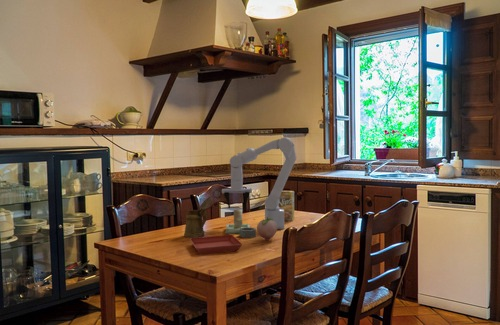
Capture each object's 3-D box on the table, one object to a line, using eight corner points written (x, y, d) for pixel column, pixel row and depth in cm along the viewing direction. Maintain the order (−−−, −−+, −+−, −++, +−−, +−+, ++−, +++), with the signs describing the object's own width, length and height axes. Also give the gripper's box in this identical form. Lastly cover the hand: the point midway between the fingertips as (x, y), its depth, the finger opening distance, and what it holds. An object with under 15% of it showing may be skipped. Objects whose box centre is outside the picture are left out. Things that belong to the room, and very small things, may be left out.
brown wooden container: (205, 239, 196) (204, 198, 195) (180, 236, 202) (179, 196, 201) (216, 235, 203) (215, 195, 202) (192, 233, 210) (191, 194, 209)
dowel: (243, 228, 214) (243, 209, 214) (240, 230, 211) (240, 210, 210) (236, 228, 216) (235, 209, 216) (232, 229, 212) (232, 210, 212)
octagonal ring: (255, 233, 206) (255, 227, 206) (256, 237, 199) (256, 230, 199) (239, 234, 206) (239, 227, 206) (239, 237, 199) (239, 230, 199)
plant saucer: (196, 256, 170) (196, 247, 170) (189, 245, 187) (189, 237, 187) (243, 252, 175) (242, 243, 175) (232, 242, 192) (231, 234, 192)
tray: (249, 228, 220) (249, 223, 219) (249, 233, 208) (249, 229, 207) (226, 228, 219) (226, 224, 219) (225, 233, 207) (225, 229, 207)
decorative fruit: (260, 237, 199) (260, 214, 198) (278, 238, 196) (278, 215, 196) (254, 242, 190) (253, 218, 189) (273, 243, 187) (273, 219, 187)
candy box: (276, 220, 240) (275, 191, 239) (278, 218, 244) (278, 190, 243) (292, 221, 237) (292, 191, 236) (294, 219, 241) (294, 190, 240)
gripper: (251, 179, 226) (251, 206, 226) (222, 179, 226) (222, 206, 226) (251, 180, 219) (252, 208, 219) (221, 180, 219) (221, 208, 219)
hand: (237, 207), depth 222 cm, fingers open, 7 cm apart
